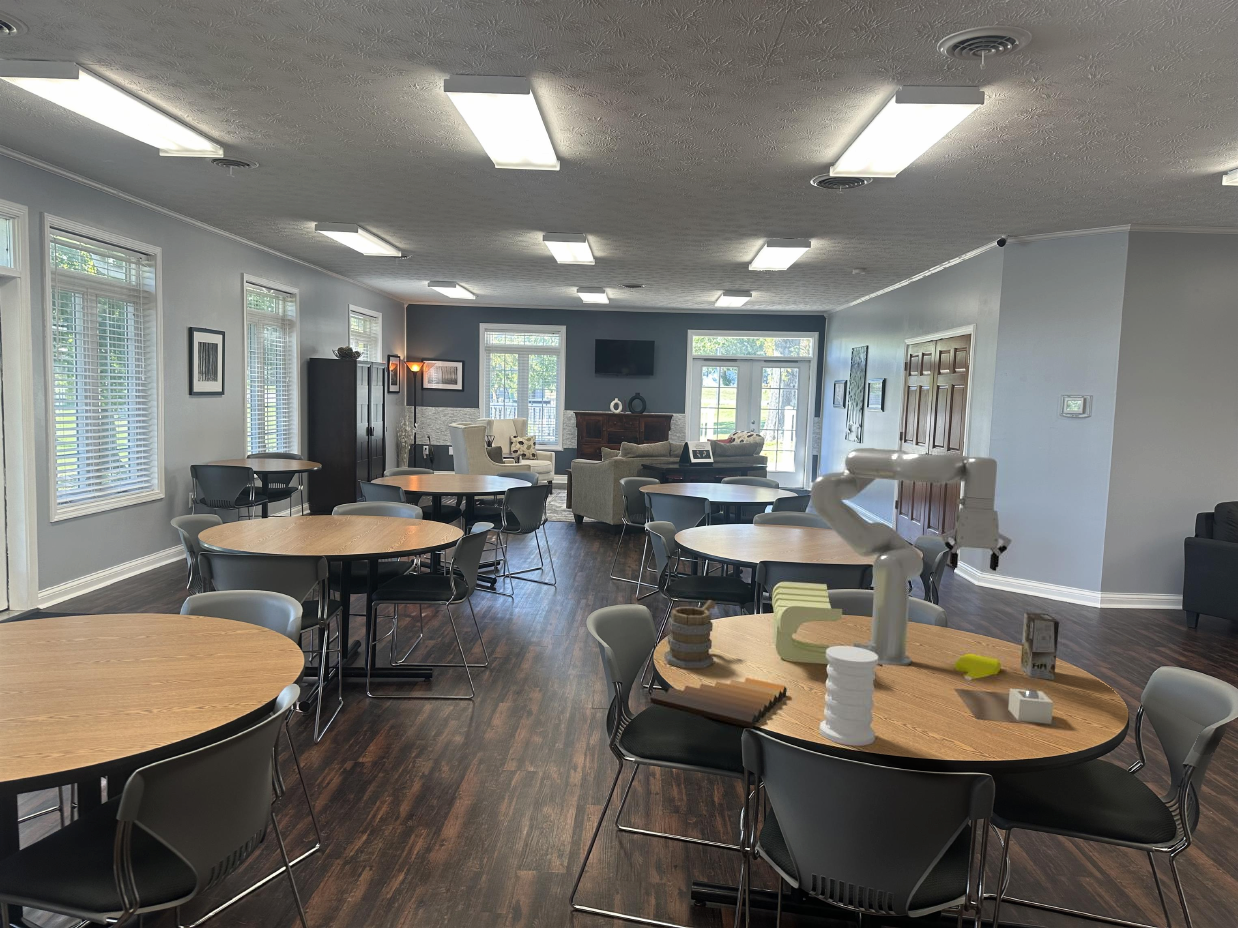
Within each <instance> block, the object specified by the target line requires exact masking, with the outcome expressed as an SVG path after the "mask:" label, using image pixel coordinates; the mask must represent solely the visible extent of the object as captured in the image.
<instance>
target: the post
mask: <svg viewBox="0 0 1238 928" xmlns="http://www.w3.org/2000/svg"><path fill="white" fill-rule="evenodd" d="M1025 690H1026V692H1025V698H1030V699H1037V691H1038V690H1035V689H1029V688H1027V689H1025Z"/></svg>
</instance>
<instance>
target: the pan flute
mask: <svg viewBox="0 0 1238 928" xmlns="http://www.w3.org/2000/svg"><path fill="white" fill-rule="evenodd" d="M787 692H788V688H787V687H786V686H785V685H783V684H778V683H772V682H769V681H764V680H759V679H755V678H749V677H745V679H744V681H741V680H740V681H739V680H735V679H730V683H726V682H721V681H716V682H715V683H714V685H709V684H707V683H702V682H701V683H700V685H699V688H698V687H695V686H694V687H693V686H689V685H685V686H684V689H677V688H674V687H669V689H668V690H667V692H665V691H661V690H657V689H653V691H652V692H651V695H650V696H649V699H650V704H653V705H656V706H657V705H658V706H660V707H661V706H662V707H665V708H668V709H669V708H670V709H673V710H678V711H681V712H685V713H689V714H692V715H697V716H701V717H705V718H709V719H712V720H715V721H721V722H723V723H724V722H725V723H729V724H733V725H738V726H739V727H740V726H741V727H745V728H749V729H753V727H755V726H756V724H758V723H759V722H760V721H762V719H763V718H764V717H766V715H767V714H768V713H770V712H771V711H772V709H774V708H775V707H776V706H777V704H779V703H780V702H781V701H782V700H783V699H785V697H786V696H787Z"/></svg>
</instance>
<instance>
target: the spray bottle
mask: <svg viewBox="0 0 1238 928" xmlns="http://www.w3.org/2000/svg"><path fill="white" fill-rule="evenodd" d="M953 667H954V669H955V671H956V672H962V673H963V672H966V674H963V675H962V676H963V677H964V679H965V680H971V681H972V679H979V678H984V677H988V676H991V675H999V673H1000V671H1001V667H1002V664H1001V663H1000V661H999V660H998V659H997V658H992V657H988V656H983V655H978V654H973V653H967V654H964V655H963V656H961V657H960V658H958V659H957V660H956V661H955V662H954V665H953Z"/></svg>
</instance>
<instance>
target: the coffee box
mask: <svg viewBox="0 0 1238 928" xmlns="http://www.w3.org/2000/svg"><path fill="white" fill-rule="evenodd" d="M1059 627H1060V621H1059V620H1057V619H1056V618H1055V617H1052V615H1050V614H1049V613H1040V612H1024V616H1023V628H1022V641H1021V643H1022V644H1021V645H1022V646H1021V657H1020V658H1021V660H1020V669H1021V670H1023V671H1024V672H1025V673H1026V674H1027V676H1028V677H1030V678H1036V679H1045V680H1052V681H1053V680H1055V672H1056V665H1057V664H1056V661H1057V652H1058V651H1057V650H1058V642H1059V641H1058V639H1059V630H1060V629H1059Z"/></svg>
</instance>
